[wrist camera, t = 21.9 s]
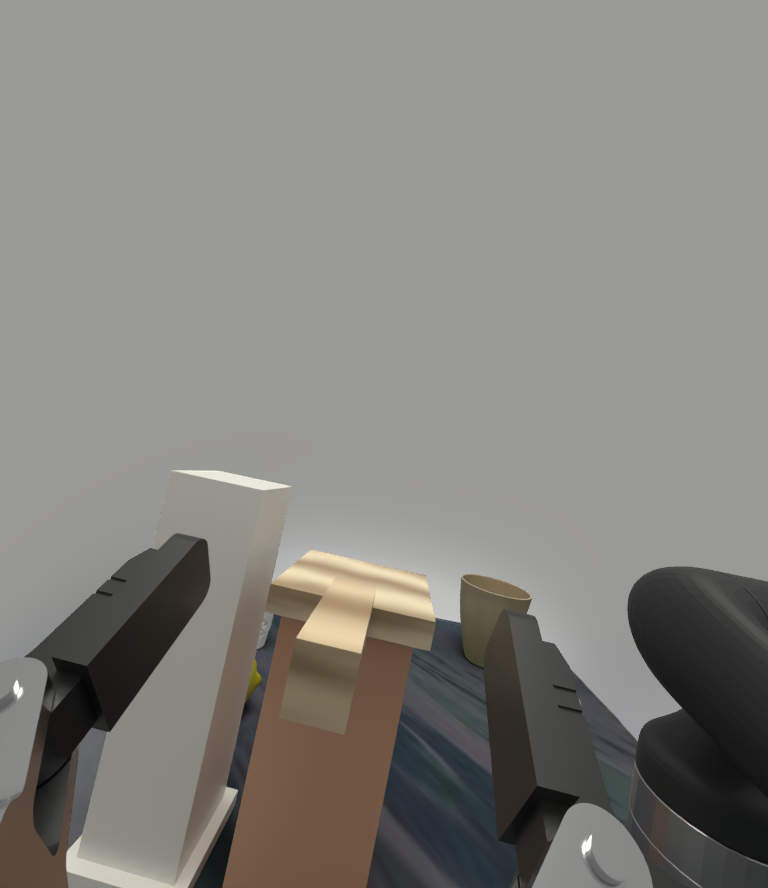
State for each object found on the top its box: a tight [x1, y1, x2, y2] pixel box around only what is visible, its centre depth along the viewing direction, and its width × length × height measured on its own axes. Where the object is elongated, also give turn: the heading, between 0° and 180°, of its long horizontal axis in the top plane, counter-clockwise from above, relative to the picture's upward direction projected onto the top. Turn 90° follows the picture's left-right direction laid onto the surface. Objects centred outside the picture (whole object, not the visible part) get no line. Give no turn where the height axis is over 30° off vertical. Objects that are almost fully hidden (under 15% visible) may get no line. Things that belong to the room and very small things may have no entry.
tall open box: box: [222, 616, 413, 888], centre depth 32 cm, size 10×10×24 cm
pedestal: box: [66, 470, 292, 888], centre depth 34 cm, size 10×10×32 cm
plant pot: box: [460, 574, 532, 668], centre depth 81 cm, size 15×15×16 cm
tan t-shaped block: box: [264, 550, 436, 735], centre depth 28 cm, size 22×12×4 cm, turn 177°
